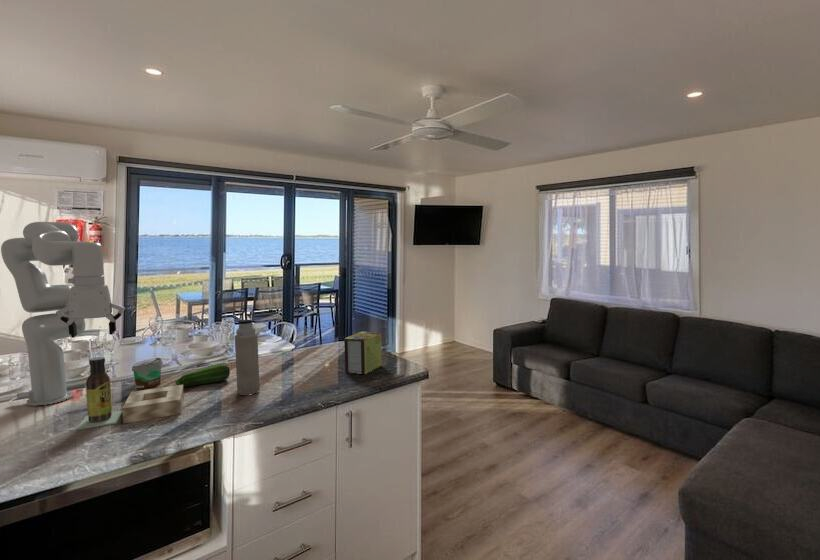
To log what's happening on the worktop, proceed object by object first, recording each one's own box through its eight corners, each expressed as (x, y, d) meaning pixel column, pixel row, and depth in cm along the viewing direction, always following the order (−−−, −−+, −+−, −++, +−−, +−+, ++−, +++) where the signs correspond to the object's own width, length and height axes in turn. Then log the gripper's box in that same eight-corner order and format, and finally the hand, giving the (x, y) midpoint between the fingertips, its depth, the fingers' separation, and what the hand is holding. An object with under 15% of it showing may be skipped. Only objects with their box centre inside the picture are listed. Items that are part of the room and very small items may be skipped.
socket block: (123, 423, 128) (122, 408, 128) (132, 405, 143) (131, 391, 142) (180, 413, 135) (180, 399, 135) (183, 397, 150) (183, 384, 149)
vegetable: (229, 361, 167) (173, 368, 158) (230, 378, 165) (173, 387, 156) (229, 364, 173) (175, 372, 164) (230, 381, 171) (175, 390, 162)
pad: (76, 430, 124) (76, 428, 124) (85, 417, 133) (85, 416, 133) (116, 423, 128) (116, 422, 128) (122, 411, 137) (122, 410, 137)
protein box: (381, 365, 187) (381, 332, 186) (364, 375, 173) (364, 340, 172) (362, 363, 192) (361, 330, 190) (344, 372, 178) (343, 338, 176)
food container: (146, 392, 156) (144, 366, 155) (133, 391, 157) (131, 365, 156) (171, 381, 168) (169, 357, 167) (158, 380, 169) (157, 357, 168)
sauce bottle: (105, 422, 128) (100, 361, 126) (83, 423, 127) (78, 362, 125) (116, 414, 134) (112, 355, 133) (96, 415, 134) (91, 356, 132)
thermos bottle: (249, 387, 160) (246, 317, 158) (264, 390, 157) (261, 319, 154) (232, 394, 153) (229, 321, 150) (248, 397, 150) (244, 322, 147)
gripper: (49, 284, 119) (54, 340, 121) (120, 281, 127) (123, 335, 129) (58, 281, 126) (62, 335, 128) (125, 279, 134) (128, 330, 135)
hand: (93, 335), depth 128 cm, fingers open, 9 cm apart
